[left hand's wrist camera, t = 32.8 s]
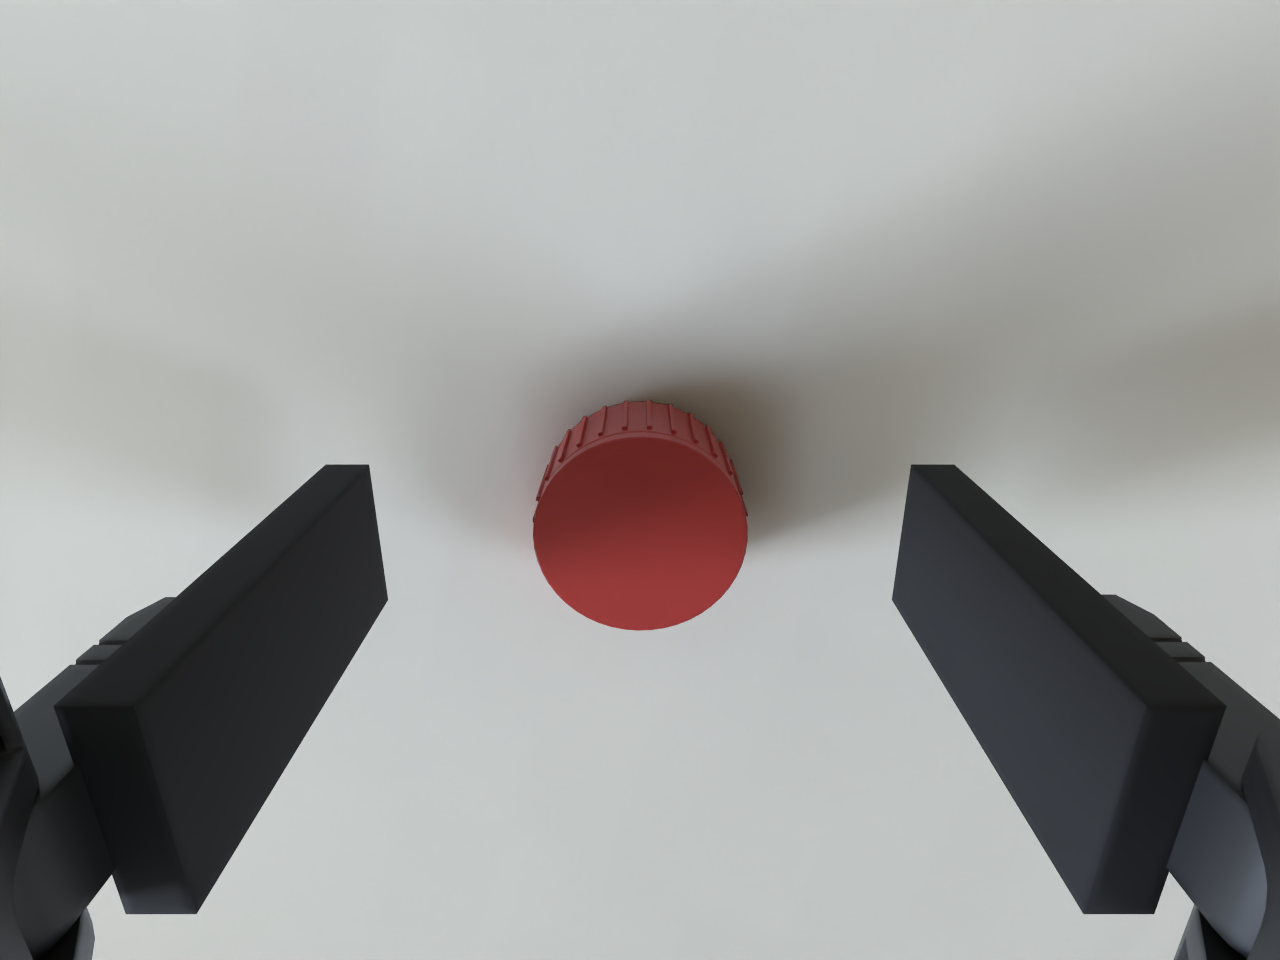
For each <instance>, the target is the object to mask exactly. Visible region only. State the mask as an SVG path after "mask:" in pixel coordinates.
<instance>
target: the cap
mask: <svg viewBox="0 0 1280 960" xmlns="http://www.w3.org/2000/svg"><path fill="white" fill-rule="evenodd" d="M742 495H743V492H742V489H741V486H740V483H739V480H738V477H737V474H736V471H735V468H734V465H733V462H732V459H730V460H729V459H728V456H727V453H726V450H725V447H724V444H723V442H722V441H720V442H719V441H718V440H717V438H716V437H715V436H714V435H713V434H712V432H711V429H710V427H709V426H708V425H707V426H706V427H705V426H704V425H703V424H702V423H701V422H700V421H698V420H697V419H695V418H694V417H693V414H692V413H690V412H689V414H687V413H685V412H683V411H681V410H679V409H676V408H673V405H671V404H668V405H663V404H659V403H652V402H651V400H646V402H628V401H624V403H623V404H617V405H614V406H610V407H606V406H604V407H602V410H600V411H598V412H595V413H593V414H592V415H590V416H589V417H587V416H584V417H583V419H582V421H581V422H580V423H579V424H578V425H576V426H575V427H574V428H573V429H572V430H570V429H569V430H568V431H567V432H566V435H565V438H564V440H563V441H562V442H561V444H560V445H559V447H558V446H556V447H555V448H554V451H553V454H552V457H551V460H550V463H549V465H547V468H546V471H545V474H544V477H543V480H542V483H541V486H540V489H539V492H538V495H537V498H536V501H538V505H537V508H536V511H535V514H534V517H533V522H534V528H533V539H534V549H535V553H536V557H537V561H538V563H539V566H540V568H541V570H542V573H543V574H544V576H545V578H546V580H547V581H548V583H549V585H550V586H551V587H552V588H553V590H554V591H555V592H556V594H557V595H558V596H559V597H560V598H561V599H562V600H563V601H564V602H565V603H566V604H568V605H569V606H570V607H572V608H573V609H574V610H575V611H577V612H579V613H580V614H582V615H584V616H585V617H587V618H589V619H592V620H594V621H596V622H598V623H601V624H604V625H607V626H611V627H615V628H620V629H627V630H654V629H661V628H666V627H670V626H673V625H677V624H680V623H682V622H685V621H687V620H690V619H692V618H693V617H695V616H697V615H699V614H701V613H702V612H704V611H705V610H707V609H708V608H709V607H711V606H712V605H713V604H714V603H715V602H716V601H717V600H719V599H720V598H721V597H722V596H723V594H724V593H725V592H726V591H727V590H728V588H729V587H730V586H731V584H732V583H733V581H734V580H735V578H736V576H737V574H738V572H739V570H740V568H741V566H742V563H743V559H744V556H745V553H746V547H747V537H748V527H747V519H746V516H748V514H747V510H746V507H745V504H744V501H743V498H742Z"/></svg>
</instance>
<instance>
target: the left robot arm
mask: <svg viewBox="0 0 1280 960" xmlns="http://www.w3.org/2000/svg"><path fill="white" fill-rule="evenodd" d="M387 601H388V596H387V589H386V582H385V575H384V568H383V561H382V554H381V547H380V540H379V533H378V526H377V519H376V511H375V504H374V497H373V490H372V483H371V476H370V469H369V465H325V466H324V467H323V468H322V469H320V470H319V471H318V472H317V473H316V474H315V475H314V476H313V477H311V478H310V479H309V480H308V481H307V482H306V483H305V484H303V485H302V486H301V487H300V488H299V489H298V490H297V491H296V492H294V493H293V494H292V495H291V496H290V497H289V498H288V499H287V500H285V501H284V502H283V503H282V504H281V505H280V506H279V507H278V508H276V509H275V510H274V511H273V512H272V513H271V514H270V515H268V516H267V517H266V518H265V519H264V520H263V521H262V522H261V523H259V524H258V525H257V526H256V527H255V528H254V529H253V530H252V531H250V532H249V533H248V534H247V535H246V536H245V537H244V538H242V539H241V540H240V541H239V542H238V543H237V544H236V545H235V546H233V547H232V548H231V549H230V550H229V551H228V552H227V553H226V554H224V555H223V556H222V557H221V558H220V559H219V560H218V561H216V562H215V563H214V564H213V565H212V566H211V567H210V568H209V569H207V570H206V571H205V572H204V573H203V574H202V575H201V576H200V577H198V578H197V579H196V580H195V581H194V582H193V583H192V584H191V585H189V586H188V587H187V588H186V589H185V590H184V591H183V592H181V593H180V594H179V595H178V596H177V597H165V598H163V599H161V600H159V601H157V602H155V603H153V604H152V605H150V606H148V607H146V608H144V609H142V610H140V611H138V612H136V613H134V614H132V615H130V616H128V617H127V618H125V619H124V620H123V621H122V622H121V623H119V624H118V625H117V626H116V627H115V628H114V629H112V630H111V631H110V632H109V633H108V634H106V635H105V636H104V637H103V638H102V639H100V640H99V645H93V646H92V647H91V648H90V649H88V650H87V651H86V652H85V653H84V654H83V655H81V656H80V657H79V658H78V659H77V660H76V664H75V665H69V666H68V667H67V668H66V669H65V670H63V671H62V672H61V673H60V674H59V675H58V676H56V677H55V678H54V679H53V680H52V681H50V682H49V683H48V684H47V685H46V686H44V687H43V688H42V689H41V690H40V691H38V692H37V693H36V694H35V695H34V696H32V697H31V698H30V699H29V700H28V701H27V702H25V703H24V704H23V705H22V706H21V707H19V708H18V709H17V710H16V711H15V712H13V709H12V707H11V704H10V701H9V699H8V696H7V693H6V691H5V688H4V685H3V683H2V680H1V677H0V960H92V954H93V948H94V941H95V936H94V930H93V924H92V920H91V918H90V915H89V912H88V910H87V906H88V904H89V903H90V902H91V901H92V899H93V898H94V897H95V895H96V894H97V893H98V891H99V890H100V889H101V888H102V886H103V885H104V884H105V882H106V881H107V880H108V878H109V877H110V876H111V875H113V878H114V881H115V884H116V887H117V890H118V893H119V895H120V898H121V901H122V904H123V907H124V910H125V913H126V914H197V912H198V911H199V909H200V907H201V906H202V904H203V902H204V901H205V899H206V897H207V896H208V894H209V893H210V891H211V889H212V888H213V886H214V884H215V883H216V881H217V879H218V878H219V876H220V874H221V873H222V871H223V870H224V868H225V866H226V865H227V863H228V861H229V860H230V858H231V856H232V855H233V853H234V852H235V850H236V848H237V847H238V845H239V843H240V842H241V840H242V838H243V837H244V835H245V833H246V832H247V830H248V829H249V827H250V825H251V824H252V822H253V820H254V819H255V817H256V815H257V814H258V812H259V811H260V809H261V807H262V806H263V804H264V802H265V801H266V799H267V797H268V796H269V794H270V792H271V791H272V789H273V788H274V786H275V784H276V783H277V781H278V779H279V778H280V776H281V774H282V773H283V771H284V770H285V768H286V766H287V765H288V763H289V761H290V760H291V758H292V756H293V755H294V753H295V752H296V750H297V748H298V747H299V745H300V743H301V742H302V740H303V738H304V737H305V735H306V733H307V732H308V730H309V729H310V727H311V725H312V724H313V722H314V720H315V719H316V717H317V715H318V714H319V712H320V711H321V709H322V707H323V706H324V704H325V702H326V701H327V699H328V697H329V696H330V694H331V692H332V691H333V689H334V688H335V686H336V684H337V683H338V681H339V679H340V678H341V676H342V674H343V673H344V671H345V670H346V668H347V666H348V665H349V663H350V661H351V660H352V658H353V656H354V655H355V653H356V651H357V650H358V648H359V647H360V645H361V643H362V642H363V640H364V638H365V637H366V635H367V633H368V632H369V630H370V629H371V627H372V625H373V624H374V622H375V620H376V619H377V617H378V615H379V614H380V612H381V610H382V609H383V607H384V606H385V604H386V602H387ZM892 601H893V602H894V604H895V606H896V607H897V609H898V610H899V612H900V614H901V615H902V617H903V619H904V620H905V622H906V624H907V625H908V627H909V629H910V630H911V632H912V633H913V635H914V637H915V638H916V640H917V642H918V643H919V645H920V647H921V648H922V650H923V651H924V653H925V655H926V656H927V658H928V660H929V661H930V663H931V665H932V666H933V668H934V670H935V671H936V673H937V674H938V676H939V678H940V679H941V681H942V683H943V684H944V686H945V688H946V689H947V691H948V692H949V694H950V696H951V697H952V699H953V701H954V702H955V704H956V706H957V707H958V709H959V710H960V712H961V714H962V715H963V717H964V719H965V720H966V722H967V724H968V725H969V727H970V729H971V730H972V732H973V733H974V735H975V737H976V738H977V740H978V742H979V743H980V745H981V747H982V748H983V750H984V751H985V753H986V755H987V756H988V758H989V760H990V761H991V763H992V765H993V766H994V768H995V770H996V771H997V773H998V774H999V776H1000V778H1001V779H1002V781H1003V783H1004V784H1005V786H1006V788H1007V789H1008V791H1009V792H1010V794H1011V796H1012V797H1013V799H1014V801H1015V802H1016V804H1017V806H1018V807H1019V809H1020V811H1021V812H1022V814H1023V815H1024V817H1025V819H1026V820H1027V822H1028V824H1029V825H1030V827H1031V829H1032V830H1033V832H1034V833H1035V835H1036V837H1037V838H1038V840H1039V842H1040V843H1041V845H1042V847H1043V848H1044V850H1045V851H1046V853H1047V855H1048V856H1049V858H1050V860H1051V861H1052V863H1053V865H1054V866H1055V868H1056V870H1057V871H1058V873H1059V874H1060V876H1061V878H1062V879H1063V881H1064V883H1065V884H1066V886H1067V888H1068V889H1069V891H1070V892H1071V894H1072V896H1073V897H1074V899H1075V901H1076V902H1077V904H1078V906H1079V907H1080V909H1081V911H1082V912H1083V914H1154V913H1155V910H1156V907H1157V904H1158V901H1159V898H1160V896H1161V893H1162V890H1163V887H1164V884H1165V881H1166V878H1167V876H1168V873H1169V872H1170V873H1171V874H1172V876H1173V877H1174V878H1175V879H1176V881H1177V882H1178V883H1179V885H1180V886H1181V887H1182V888H1183V890H1184V891H1185V892H1186V894H1187V895H1188V896H1189V898H1190V899H1191V900H1192V901H1193V903H1194V907H1193V910H1192V912H1191V915H1190V918H1189V920H1188V923H1187V926H1186V928H1185V931H1184V934H1183V936H1182V939H1181V942H1180V944H1179V947H1178V950H1177V952H1176V955H1175V958H1174V960H1280V719H1279V718H1277V717H1276V716H1275V715H1274V714H1273V713H1271V712H1270V711H1269V710H1268V709H1267V708H1265V707H1264V706H1263V705H1262V704H1261V703H1259V702H1258V701H1257V700H1256V699H1255V698H1253V697H1252V696H1251V695H1250V694H1249V693H1247V692H1246V691H1245V690H1244V689H1243V688H1241V687H1240V686H1239V685H1238V684H1237V683H1235V682H1234V681H1233V680H1232V679H1231V678H1229V677H1228V676H1227V675H1226V674H1225V673H1223V672H1222V671H1221V670H1220V669H1219V668H1217V667H1216V666H1215V665H1214V664H1213V663H1211V662H1205V657H1204V656H1203V655H1202V654H1201V653H1199V652H1198V651H1197V650H1196V649H1195V648H1193V647H1192V646H1191V645H1190V644H1189V643H1187V642H1182V640H1181V637H1180V636H1179V635H1178V634H1177V633H1175V632H1174V631H1173V630H1172V629H1171V628H1169V627H1168V626H1167V625H1166V624H1165V623H1163V622H1162V621H1161V620H1160V619H1159V618H1157V617H1156V616H1155V615H1154V614H1152V613H1150V612H1148V611H1146V610H1144V609H1142V608H1140V607H1138V606H1136V605H1134V604H1132V603H1130V602H1128V601H1127V600H1125V599H1123V598H1121V597H1119V596H1117V595H1101V594H1100V593H1099V592H1097V591H1096V590H1095V589H1094V588H1093V587H1092V586H1091V585H1090V584H1088V583H1087V582H1086V581H1085V580H1084V579H1083V578H1082V577H1080V576H1079V575H1078V574H1077V573H1076V572H1075V571H1074V570H1073V569H1071V568H1070V567H1069V566H1068V565H1067V564H1066V563H1065V562H1064V561H1062V560H1061V559H1060V558H1059V557H1058V556H1057V555H1056V554H1054V553H1053V552H1052V551H1051V550H1050V549H1049V548H1048V547H1047V546H1045V545H1044V544H1043V543H1042V542H1041V541H1040V540H1039V539H1038V538H1036V537H1035V536H1034V535H1033V534H1032V533H1031V532H1030V531H1028V530H1027V529H1026V528H1025V527H1024V526H1023V525H1022V524H1021V523H1019V522H1018V521H1017V520H1016V519H1015V518H1014V517H1013V516H1012V515H1010V514H1009V513H1008V512H1007V511H1006V510H1005V509H1004V508H1003V507H1001V506H1000V505H999V504H998V503H997V502H996V501H995V500H993V499H992V498H991V497H990V496H989V495H988V494H987V493H986V492H984V491H983V490H982V489H981V488H980V487H979V486H978V485H977V484H975V483H974V482H973V481H972V480H971V479H970V478H969V477H967V476H966V475H965V474H964V473H963V472H962V471H961V470H960V469H958V468H957V467H956V466H955V465H911V469H910V476H909V483H908V490H907V497H906V504H905V512H904V519H903V526H902V533H901V540H900V547H899V554H898V561H897V568H896V575H895V582H894V589H893V597H892Z"/></svg>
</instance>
